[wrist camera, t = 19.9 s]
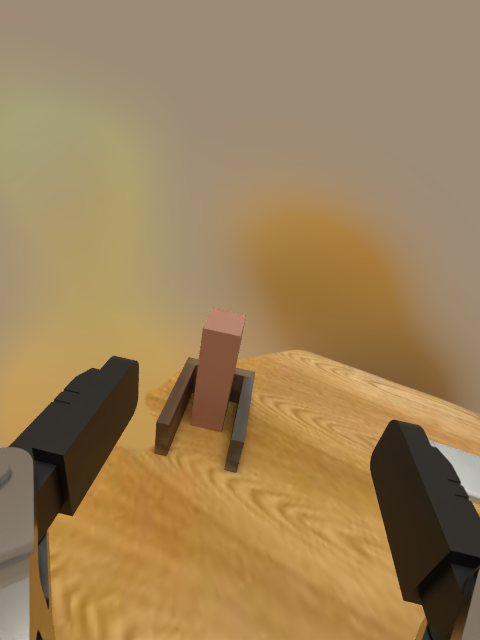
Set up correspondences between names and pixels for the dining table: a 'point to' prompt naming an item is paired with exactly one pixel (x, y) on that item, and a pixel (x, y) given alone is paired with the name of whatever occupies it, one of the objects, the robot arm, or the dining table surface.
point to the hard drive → (464, 469)
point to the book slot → (179, 401)
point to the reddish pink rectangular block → (216, 368)
